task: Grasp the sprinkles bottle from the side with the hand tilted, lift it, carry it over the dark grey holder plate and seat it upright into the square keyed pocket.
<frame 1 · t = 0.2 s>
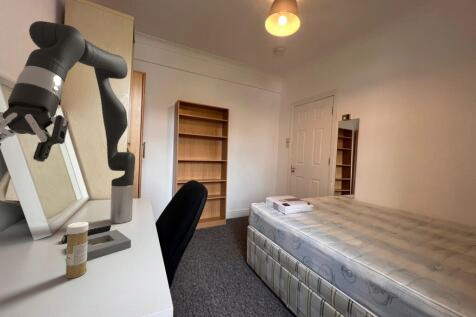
hand: (13, 159, 40), 31 cm above the table, tool tilted 20°, fingers open, 8 cm apart
electric trimmer: (86, 237, 77), on the table
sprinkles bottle: (76, 274, 53), on the table
holder plate: (101, 247, 68), on the table
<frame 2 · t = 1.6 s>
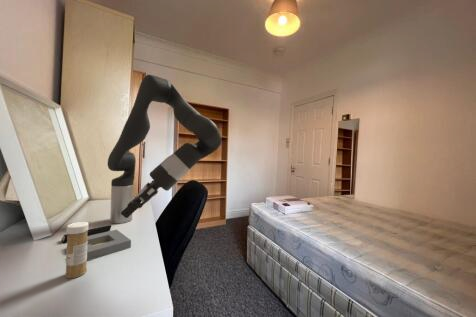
hand: (126, 211, 57), 16 cm above the table, tool tilted 45°, fingers open, 8 cm apart
nothing on the table moved.
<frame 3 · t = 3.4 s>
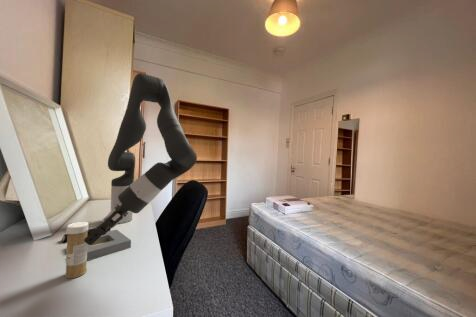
hand: (93, 236, 54), 10 cm above the table, tool tilted 45°, fingers open, 8 cm apart
nothing on the table moved.
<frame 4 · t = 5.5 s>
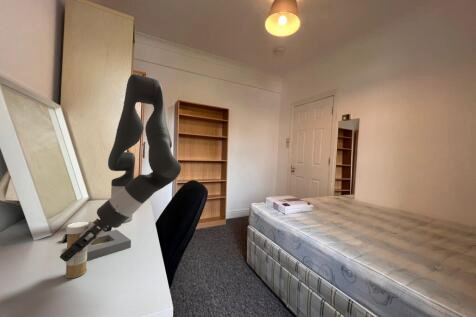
hand: (68, 254, 52), 6 cm above the table, tool tilted 45°, fingers closed on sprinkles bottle, 4 cm apart
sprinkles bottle: (76, 274, 53), on the table, touching gripper
everything else where it was.
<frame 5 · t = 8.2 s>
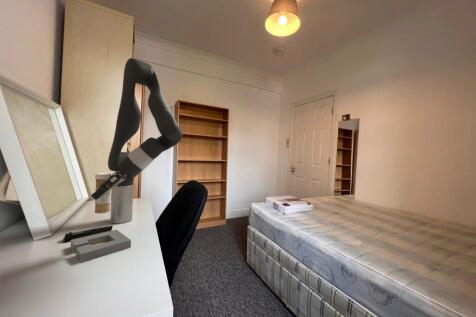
hand: (96, 196, 67), 18 cm above the table, tool tilted 45°, fingers closed on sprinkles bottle, 4 cm apart
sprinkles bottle: (102, 212, 68), point 12 cm above the table, touching gripper
everything else where it was.
when the fingers open (7 cm above the table, at t = 11.1 s): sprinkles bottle drops 1 cm, resting on holder plate.
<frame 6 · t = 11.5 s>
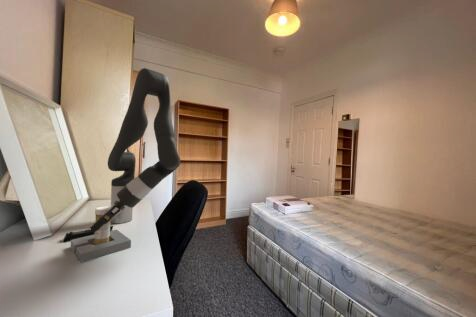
hand: (96, 225, 68), 8 cm above the table, tool tilted 45°, fingers open, 8 cm apart
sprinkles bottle: (101, 247, 68), resting on holder plate
everything else where it was.
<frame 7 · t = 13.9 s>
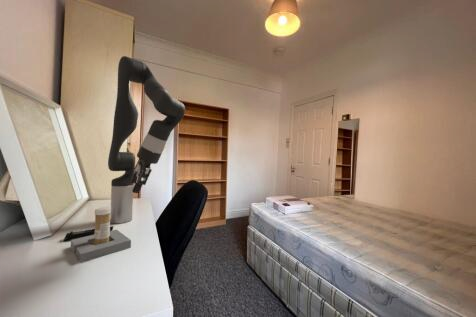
hand: (134, 187, 73), 20 cm above the table, tool tilted 25°, fingers open, 8 cm apart
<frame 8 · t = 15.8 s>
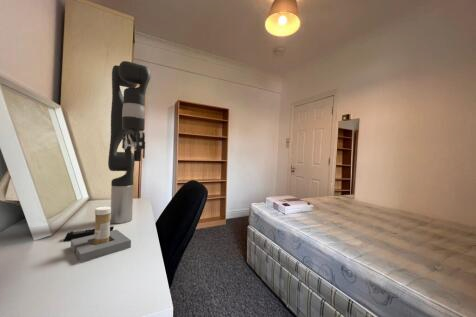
hand: (132, 160, 74), 30 cm above the table, tool pointing down, fingers open, 8 cm apart
at the end: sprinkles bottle 0.2 cm off-centre on the holder plate, point 0.0 cm above the holder plate's base; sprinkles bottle tilted 0°; the gripper is holding nothing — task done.
